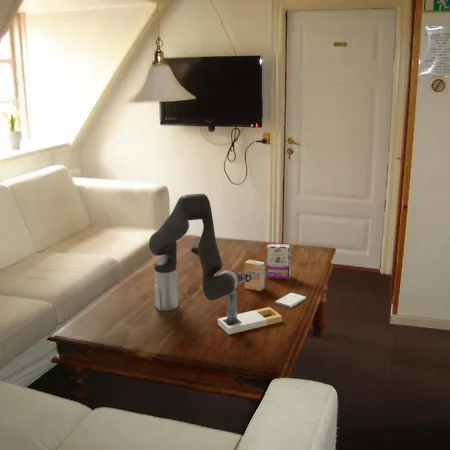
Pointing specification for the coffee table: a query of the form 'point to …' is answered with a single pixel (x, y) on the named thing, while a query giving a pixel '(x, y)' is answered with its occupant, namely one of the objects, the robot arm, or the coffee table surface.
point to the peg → (232, 308)
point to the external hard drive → (290, 300)
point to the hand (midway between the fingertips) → (235, 275)
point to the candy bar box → (278, 261)
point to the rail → (251, 320)
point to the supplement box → (255, 275)
